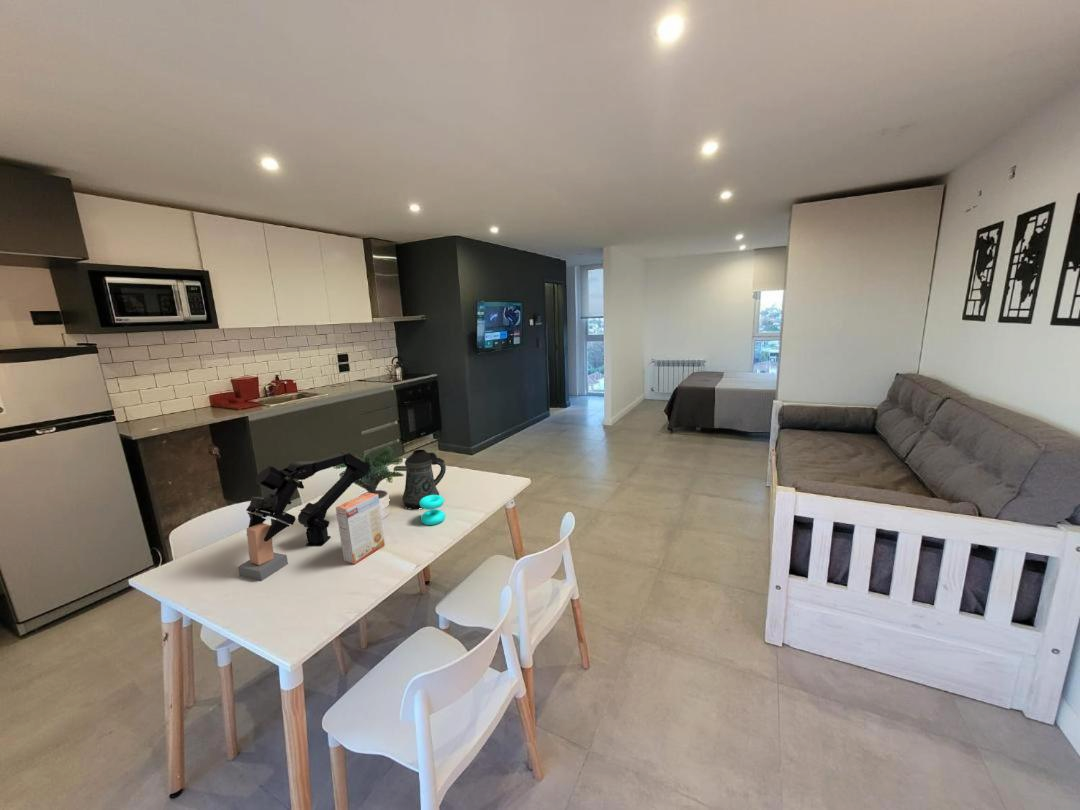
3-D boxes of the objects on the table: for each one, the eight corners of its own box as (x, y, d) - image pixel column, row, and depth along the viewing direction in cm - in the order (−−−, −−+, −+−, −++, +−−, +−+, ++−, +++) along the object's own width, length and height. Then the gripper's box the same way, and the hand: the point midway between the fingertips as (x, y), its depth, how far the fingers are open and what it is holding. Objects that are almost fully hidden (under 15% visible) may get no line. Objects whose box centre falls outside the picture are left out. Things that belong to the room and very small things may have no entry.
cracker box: (374, 542, 160) (368, 491, 155) (385, 545, 157) (379, 493, 153) (342, 561, 147) (334, 506, 143) (354, 565, 145) (346, 509, 140)
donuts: (417, 496, 176) (441, 492, 180) (419, 517, 178) (443, 513, 182) (420, 505, 167) (445, 501, 171) (422, 528, 169) (447, 523, 173)
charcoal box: (266, 560, 150) (265, 550, 149) (288, 565, 147) (286, 554, 146) (239, 577, 140) (237, 566, 140) (262, 582, 137) (259, 571, 136)
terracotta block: (265, 555, 146) (261, 522, 144) (273, 558, 144) (270, 525, 142) (250, 561, 141) (246, 528, 140) (258, 565, 139) (255, 531, 138)
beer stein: (397, 502, 194) (391, 451, 189) (434, 490, 207) (430, 442, 202) (412, 513, 182) (407, 459, 177) (451, 500, 195) (447, 449, 190)
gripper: (247, 482, 145) (218, 525, 138) (281, 490, 138) (253, 536, 130) (273, 494, 154) (247, 536, 147) (307, 502, 146) (281, 546, 139)
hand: (256, 538), depth 140 cm, fingers open, 9 cm apart
